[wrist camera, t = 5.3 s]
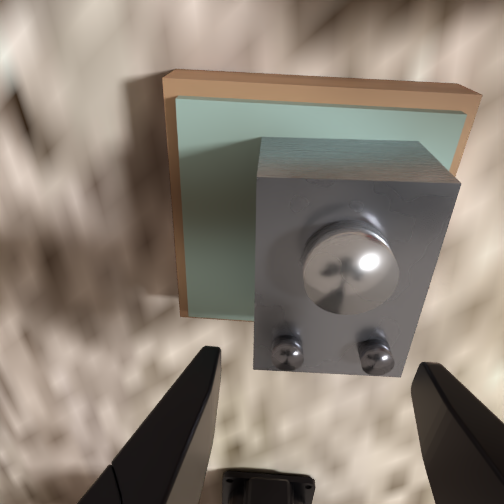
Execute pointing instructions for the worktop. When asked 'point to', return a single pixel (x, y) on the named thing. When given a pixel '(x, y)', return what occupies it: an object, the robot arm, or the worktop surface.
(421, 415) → the robot arm
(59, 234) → the worktop surface
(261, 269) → the housing
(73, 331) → the worktop surface
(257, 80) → the stand
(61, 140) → the worktop surface
